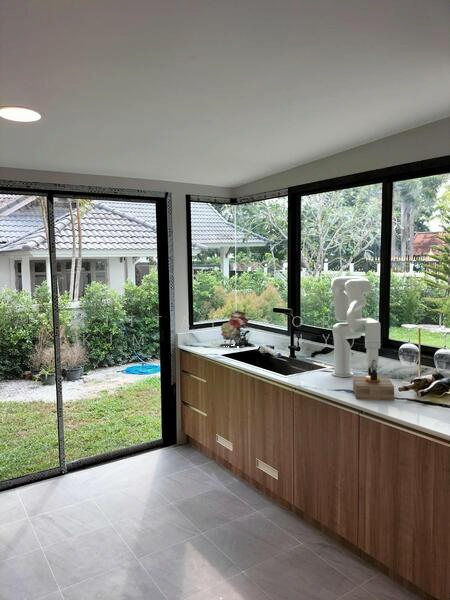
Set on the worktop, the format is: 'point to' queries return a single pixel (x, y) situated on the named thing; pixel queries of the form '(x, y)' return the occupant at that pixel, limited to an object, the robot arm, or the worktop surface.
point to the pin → (368, 379)
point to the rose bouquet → (235, 329)
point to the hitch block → (373, 389)
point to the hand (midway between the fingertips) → (372, 377)
